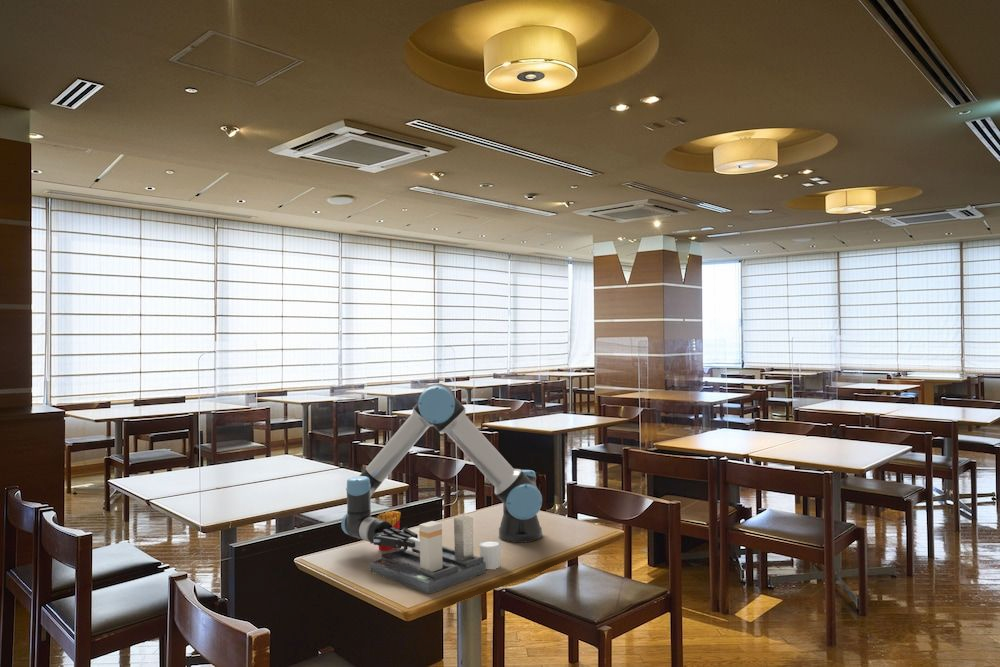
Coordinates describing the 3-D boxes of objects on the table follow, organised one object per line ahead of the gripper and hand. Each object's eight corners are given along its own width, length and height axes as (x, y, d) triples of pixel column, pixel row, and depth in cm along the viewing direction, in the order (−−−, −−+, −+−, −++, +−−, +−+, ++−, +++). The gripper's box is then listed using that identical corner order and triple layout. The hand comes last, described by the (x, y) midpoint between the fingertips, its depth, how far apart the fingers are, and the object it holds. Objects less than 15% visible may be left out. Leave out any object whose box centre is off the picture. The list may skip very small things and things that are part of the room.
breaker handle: (433, 565, 194) (432, 520, 194) (442, 568, 191) (441, 523, 191) (420, 569, 190) (419, 524, 191) (429, 572, 188) (428, 527, 188)
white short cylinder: (504, 563, 203) (503, 540, 204) (498, 571, 197) (498, 547, 197) (482, 562, 205) (482, 539, 205) (476, 570, 198) (476, 546, 198)
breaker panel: (427, 553, 215) (426, 504, 215) (485, 572, 196) (484, 518, 196) (370, 571, 199) (369, 518, 199) (428, 594, 180) (427, 535, 180)
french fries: (380, 552, 217) (380, 515, 217) (375, 549, 220) (374, 513, 221) (403, 546, 223) (402, 511, 223) (397, 544, 226) (396, 508, 226)
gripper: (393, 538, 213) (441, 553, 197) (359, 548, 204) (406, 565, 187) (393, 515, 213) (441, 528, 197) (358, 523, 204) (406, 538, 187)
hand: (424, 546), depth 192 cm, fingers closed
